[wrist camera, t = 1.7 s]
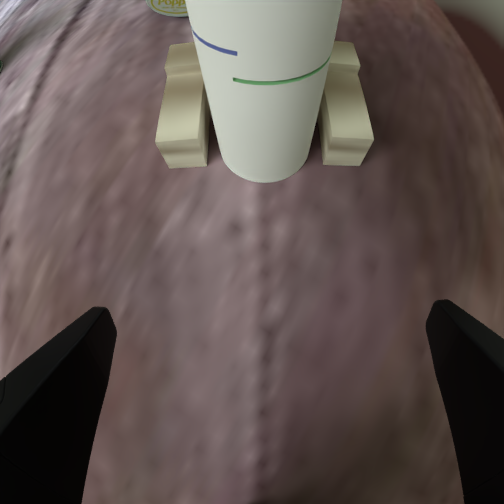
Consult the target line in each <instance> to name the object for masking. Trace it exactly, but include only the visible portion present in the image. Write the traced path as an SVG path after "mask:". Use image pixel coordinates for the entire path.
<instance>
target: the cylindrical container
mask: <svg viewBox="0 0 504 504" xmlns="http://www.w3.org/2000/svg"><path fill="white" fill-rule="evenodd" d="M185 2H186V7H187V11H188V16H189V20H190V24H191V29H192V33H193V37H194V42H195V46H196V50H197V55H198V59H199V63H200V67H201V72H202V76H203V80H204V84H205V89H206V93H207V97H208V101H209V106H210V110H211V114H212V118H213V123H214V127H215V131H216V136H217V140H218V144H219V148H220V152H221V155H222V159H223V160H224V162H225V164H226V165H227V166H228V168H229V169H230V170H231V171H232V172H234V173H235V174H237V175H238V176H240V177H242V178H244V179H246V180H250V181H253V182H261V183H269V182H276V181H280V180H284V179H286V178H288V177H290V176H292V175H293V174H295V173H296V172H297V171H298V170H299V169H300V168H301V167H302V166H303V165H304V163H305V161H306V159H307V157H308V153H309V149H310V145H311V141H312V137H313V133H314V128H315V124H316V120H317V116H318V111H319V107H320V103H321V98H322V94H323V89H324V85H325V80H326V76H327V71H328V67H329V62H330V58H331V53H332V48H333V44H334V39H335V34H336V29H337V24H338V20H339V15H340V10H341V5H342V0H185Z"/></svg>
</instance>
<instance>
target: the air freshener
mask: <svg viewBox="0 0 504 504" xmlns="http://www.w3.org/2000/svg"><path fill="white" fill-rule="evenodd" d="M145 1H146V3H147V5H148V6H149V7H150V8H151V9H152V10H154V11H155V12H158V13H160V14H163V15H167V16H175V17H187V16H188V11H187V7H186V2H185V0H145Z"/></svg>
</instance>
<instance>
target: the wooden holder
mask: <svg viewBox="0 0 504 504" xmlns="http://www.w3.org/2000/svg"><path fill="white" fill-rule="evenodd" d="M359 68H360V63H359V60H358V57H357V54H356V51H355V48H354V45H353V43H350V42H341V41H334V44H333V48H332V53H331V58H330V62H329V67H328V71H327V76H326V80H325V85H324V89H323V94H322V98H321V103H320V107H319V111H318V116H317V120H318V127H319V135H320V143H321V151H322V160H323V165H344V166H360V164H361V163H362V161H363V159H364V157H365V155H366V154H367V152H368V150H369V148H370V146H371V144H372V143H373V141H374V137H373V132H372V128H371V123H370V119H369V115H368V111H367V107H366V103H365V99H364V95H363V91H362V88H361V84H360V80H359V77H358V71H359ZM165 71H166V74H167V81H166V86H165V91H164V96H163V101H162V106H161V111H160V117H159V122H158V128H157V134H156V140H155V143H156V145H157V146H158V148H159V150H160V152H161V154H162V155H163V157H164V159H165V161H166V163H167V164H168V166H169V168H170V169H172V168H187V167H205V166H207V157H208V142H209V128H210V115H211V110H210V106H209V101H208V97H207V93H206V89H205V84H204V80H203V76H202V72H201V67H200V63H199V59H198V55H197V50H196V46H195V42H191V43H183V44H175V45H170V48H169V52H168V56H167V60H166V64H165Z"/></svg>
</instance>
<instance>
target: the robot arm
mask: <svg viewBox="0 0 504 504" xmlns="http://www.w3.org/2000/svg"><path fill="white" fill-rule="evenodd" d="M426 332H427V337H428V341H429V345H430V350H431V354H432V359H433V364H434V369H435V373H436V377H437V381H438V384H439V388H440V391H441V395H442V398H443V402H444V405H445V409H446V413H447V417H448V421H449V425H450V429H451V433H452V437H453V442H454V446H455V451H456V456H457V461H458V466H459V471H460V477H461V483H462V489H463V495H464V504H504V339H503V338H501V337H500V336H499V335H497V334H496V333H495V332H493V331H492V330H491V329H489V328H488V327H487V326H485V325H484V324H482V323H481V322H480V321H478V320H477V319H475V318H474V317H473V316H471V315H470V314H468V313H467V312H466V311H464V310H463V309H461V308H460V307H458V306H457V305H455V304H454V303H453V302H451V301H450V300H447V299H444V300H437V301H435V302H434V304H433V306H432V308H431V311H430V314H429V316H428V318H427V321H426ZM116 337H117V330H116V327H115V324H114V322H113V319H112V317H111V314H110V312H109V310H108V309H107V308H106V307H92V308H91V309H90V310H88V311H87V312H86V313H84V314H83V315H82V316H80V317H79V318H78V319H76V320H75V321H74V322H73V323H71V324H70V325H69V326H67V327H66V328H65V329H64V330H62V331H61V332H60V333H58V334H57V335H56V336H55V337H53V338H52V339H51V340H50V341H48V342H47V343H46V344H44V345H43V346H42V347H41V348H39V349H38V350H37V351H36V352H34V353H33V354H32V355H31V356H30V357H28V358H27V359H26V360H25V361H23V362H22V363H21V364H20V365H18V366H17V367H16V368H15V369H14V370H12V371H11V372H10V373H9V374H8V375H7V376H6V377H4V378H3V379H2V380H0V504H81V503H82V497H83V491H84V486H85V480H86V475H87V470H88V465H89V460H90V455H91V451H92V446H93V441H94V437H95V433H96V429H97V424H98V420H99V416H100V412H101V408H102V405H103V401H104V397H105V393H106V390H107V386H108V381H109V376H110V370H111V364H112V359H113V353H114V348H115V342H116Z"/></svg>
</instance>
